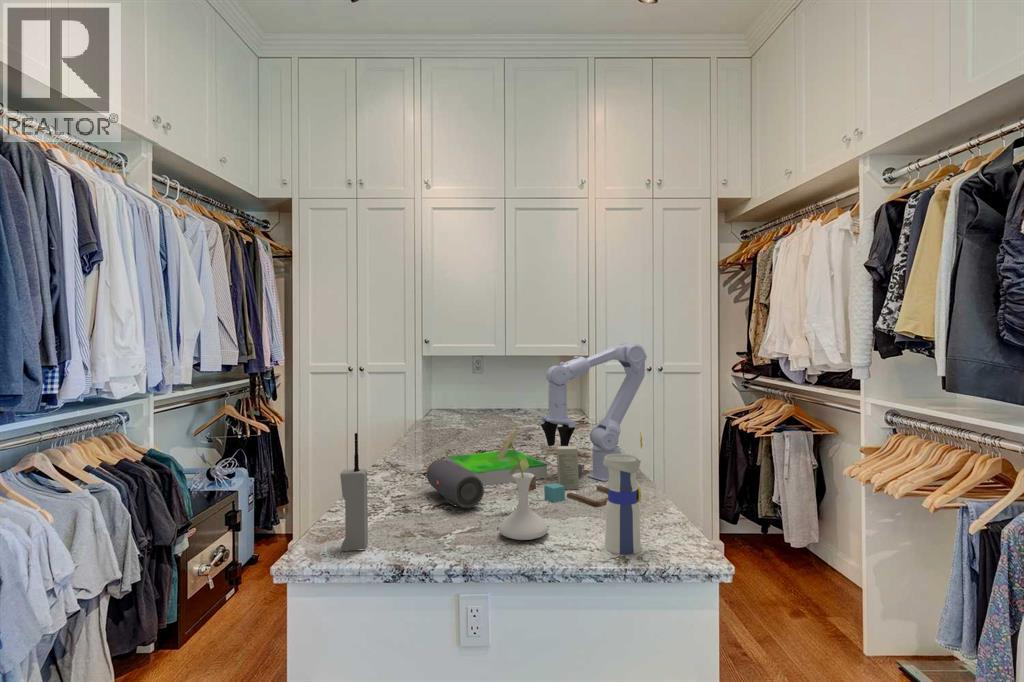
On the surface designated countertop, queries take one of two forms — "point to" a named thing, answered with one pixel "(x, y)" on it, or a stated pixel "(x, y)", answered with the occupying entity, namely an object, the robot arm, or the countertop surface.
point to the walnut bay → (590, 501)
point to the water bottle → (623, 504)
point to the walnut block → (532, 483)
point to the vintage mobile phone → (355, 505)
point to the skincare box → (568, 466)
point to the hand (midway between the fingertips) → (557, 447)
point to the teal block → (554, 492)
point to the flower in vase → (521, 502)
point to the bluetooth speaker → (455, 483)
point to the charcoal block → (579, 470)
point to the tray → (498, 466)
